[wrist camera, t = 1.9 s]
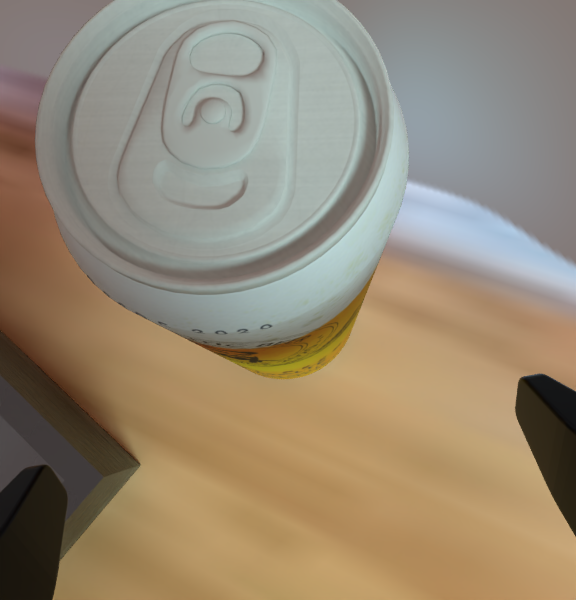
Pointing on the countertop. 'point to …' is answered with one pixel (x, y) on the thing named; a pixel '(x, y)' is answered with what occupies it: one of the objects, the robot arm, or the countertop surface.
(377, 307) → the countertop surface
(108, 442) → the keyhole plate
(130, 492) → the countertop surface
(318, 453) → the countertop surface
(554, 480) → the robot arm
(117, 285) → the beer can
